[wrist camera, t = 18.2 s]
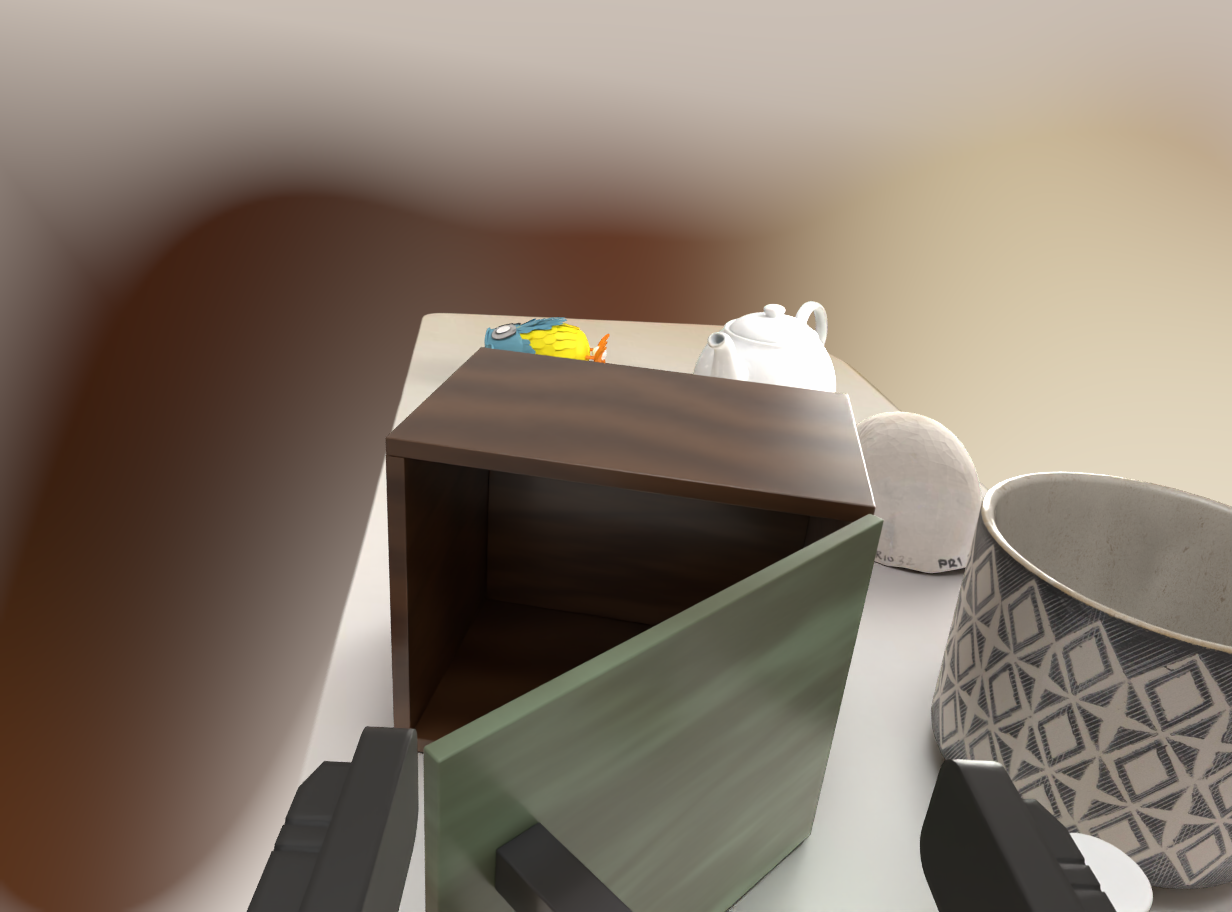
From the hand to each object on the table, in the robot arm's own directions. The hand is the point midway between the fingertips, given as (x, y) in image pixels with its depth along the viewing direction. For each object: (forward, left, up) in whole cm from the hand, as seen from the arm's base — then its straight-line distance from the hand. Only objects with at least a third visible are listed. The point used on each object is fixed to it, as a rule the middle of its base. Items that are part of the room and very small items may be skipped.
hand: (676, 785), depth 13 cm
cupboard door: (+1, +16, -28) cm, 32 cm away
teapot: (-4, +92, -28) cm, 96 cm away
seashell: (+11, +67, -28) cm, 74 cm away
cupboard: (-8, +35, -28) cm, 46 cm away
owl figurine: (-31, +90, -28) cm, 99 cm away
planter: (+21, +37, -28) cm, 51 cm away
